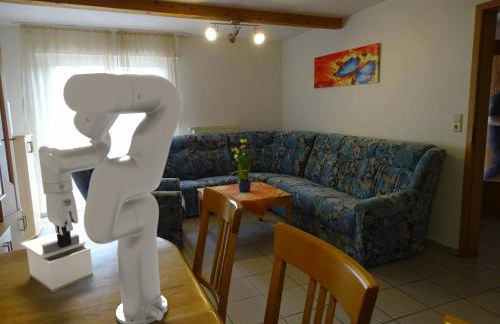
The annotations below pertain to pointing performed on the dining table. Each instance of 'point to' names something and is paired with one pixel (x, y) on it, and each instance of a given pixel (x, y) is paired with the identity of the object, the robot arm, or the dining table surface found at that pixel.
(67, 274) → the carton
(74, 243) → the carton lid
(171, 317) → the dining table surface
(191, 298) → the dining table surface
